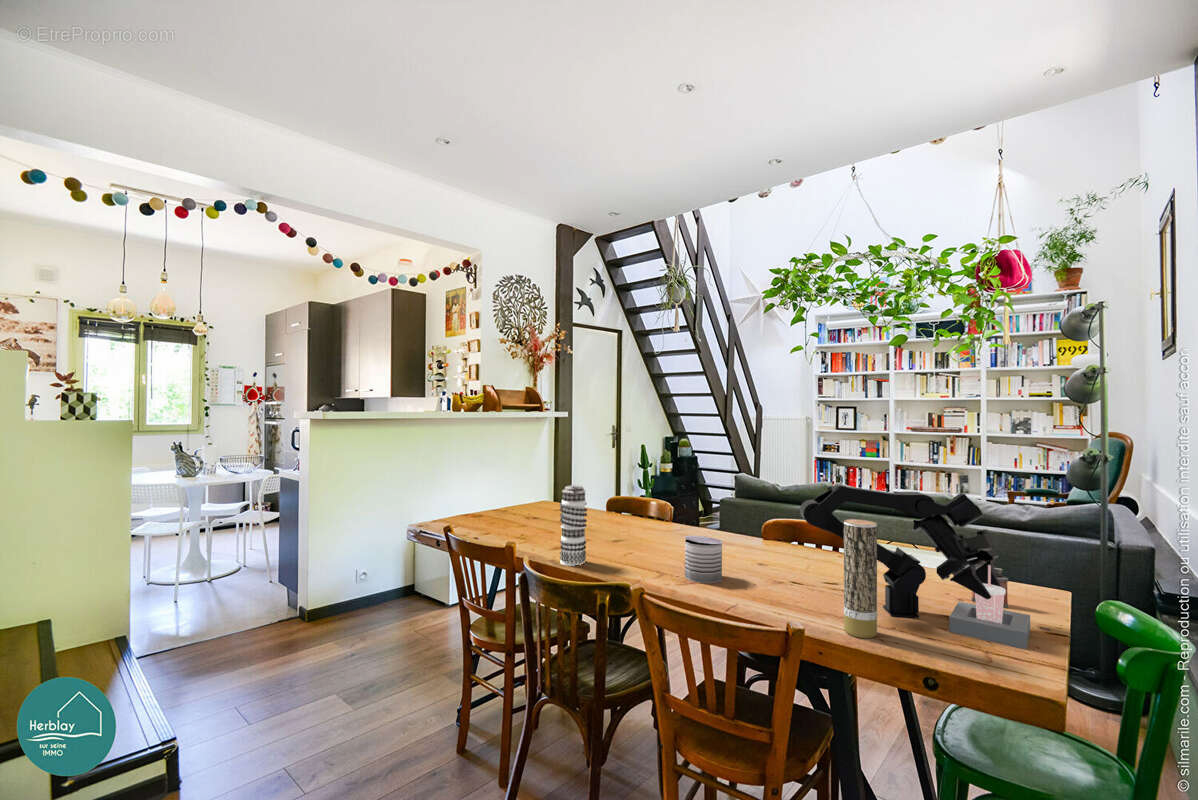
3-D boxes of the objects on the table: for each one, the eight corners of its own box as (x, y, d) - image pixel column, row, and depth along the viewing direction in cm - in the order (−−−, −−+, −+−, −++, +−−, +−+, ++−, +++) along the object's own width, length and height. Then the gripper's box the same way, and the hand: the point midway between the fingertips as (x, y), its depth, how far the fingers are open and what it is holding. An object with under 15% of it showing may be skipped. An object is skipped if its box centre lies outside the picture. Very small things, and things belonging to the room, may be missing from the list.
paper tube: (867, 627, 130) (867, 519, 130) (883, 639, 123) (883, 525, 123) (838, 627, 129) (838, 519, 130) (852, 639, 123) (852, 525, 123)
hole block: (1026, 649, 118) (1026, 632, 118) (949, 632, 127) (949, 616, 127) (1030, 630, 129) (1030, 615, 129) (958, 615, 138) (958, 601, 138)
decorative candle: (557, 559, 187) (558, 484, 188) (584, 558, 189) (585, 484, 190) (560, 566, 178) (561, 488, 179) (589, 565, 180) (589, 487, 181)
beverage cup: (999, 623, 130) (999, 563, 131) (1010, 633, 124) (1010, 570, 125) (969, 620, 132) (969, 560, 132) (978, 629, 126) (979, 567, 126)
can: (681, 572, 174) (681, 533, 174) (717, 572, 174) (717, 533, 174) (688, 583, 162) (688, 542, 162) (727, 583, 163) (727, 542, 163)
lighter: (1009, 606, 146) (1009, 567, 146) (1007, 609, 143) (1006, 569, 143) (973, 598, 151) (972, 561, 152) (970, 601, 149) (969, 563, 149)
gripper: (951, 522, 127) (1006, 584, 118) (988, 515, 137) (1043, 571, 128) (915, 549, 133) (965, 610, 124) (954, 540, 144) (1003, 596, 134)
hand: (996, 596), depth 127 cm, fingers closed on beverage cup, 6 cm apart
